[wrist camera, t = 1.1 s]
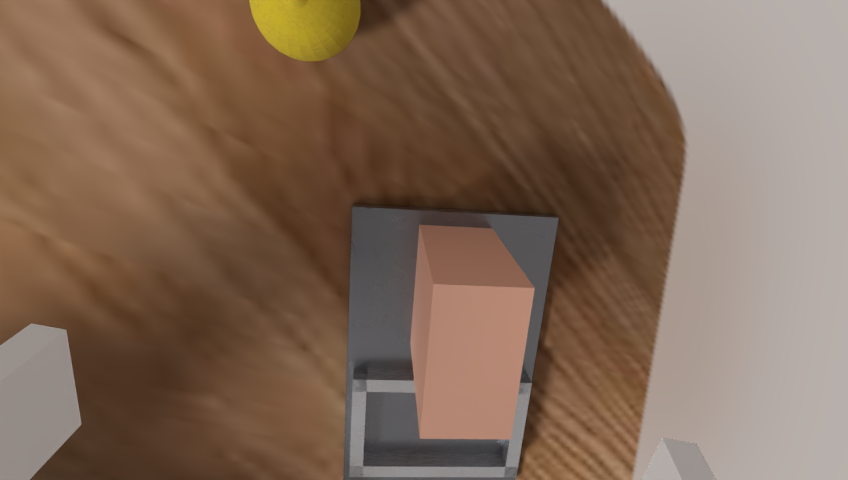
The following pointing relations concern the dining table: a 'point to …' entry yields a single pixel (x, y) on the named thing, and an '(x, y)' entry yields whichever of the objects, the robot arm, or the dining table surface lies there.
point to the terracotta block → (467, 333)
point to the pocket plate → (391, 351)
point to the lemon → (307, 26)
